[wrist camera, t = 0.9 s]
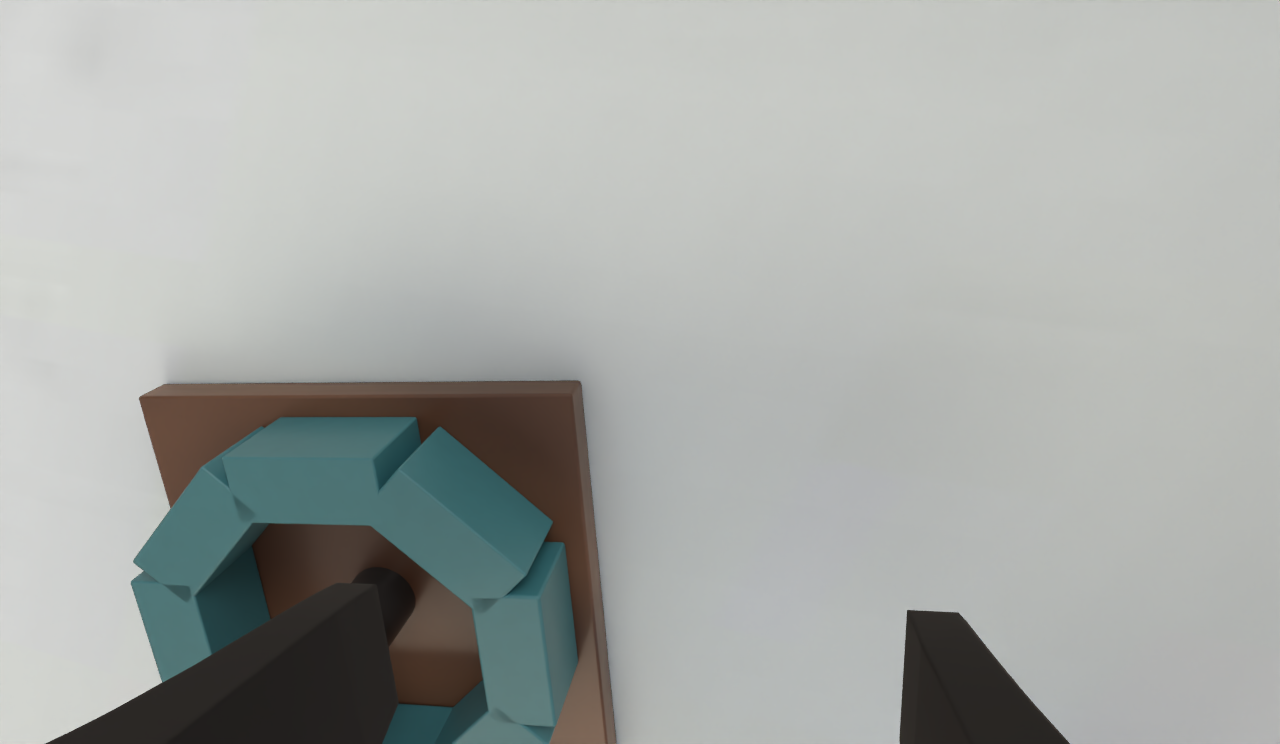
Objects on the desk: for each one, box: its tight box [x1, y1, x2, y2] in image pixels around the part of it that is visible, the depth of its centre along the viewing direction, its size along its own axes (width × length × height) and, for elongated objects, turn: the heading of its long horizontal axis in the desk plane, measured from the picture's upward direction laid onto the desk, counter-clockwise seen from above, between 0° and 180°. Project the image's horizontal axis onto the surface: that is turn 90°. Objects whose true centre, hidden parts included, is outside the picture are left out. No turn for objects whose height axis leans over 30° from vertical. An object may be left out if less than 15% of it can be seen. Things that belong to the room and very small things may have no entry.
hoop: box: [131, 417, 578, 744], centre depth 21 cm, size 10×10×2 cm
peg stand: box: [139, 381, 616, 744], centre depth 21 cm, size 12×12×5 cm
